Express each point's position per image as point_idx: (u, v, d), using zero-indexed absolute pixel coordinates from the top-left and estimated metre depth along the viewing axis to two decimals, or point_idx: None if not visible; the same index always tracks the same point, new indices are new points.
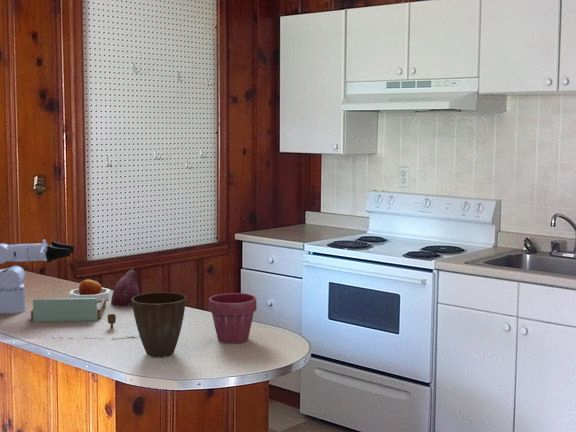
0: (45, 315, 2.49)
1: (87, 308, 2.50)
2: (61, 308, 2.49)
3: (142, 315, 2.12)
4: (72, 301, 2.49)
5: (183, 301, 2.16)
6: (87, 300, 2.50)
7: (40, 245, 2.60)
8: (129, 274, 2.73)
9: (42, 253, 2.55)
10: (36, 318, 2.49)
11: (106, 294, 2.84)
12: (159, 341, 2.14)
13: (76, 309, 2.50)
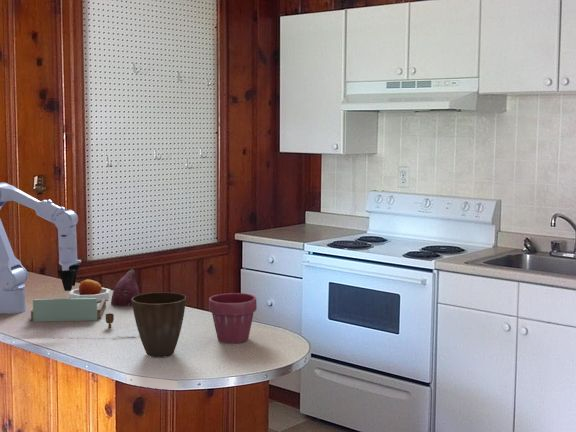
0: (45, 315, 2.49)
1: (87, 308, 2.50)
2: (61, 308, 2.49)
3: (142, 315, 2.12)
4: (72, 301, 2.49)
5: (183, 301, 2.16)
6: (87, 300, 2.50)
7: (75, 259, 2.57)
8: (129, 274, 2.73)
9: (66, 267, 2.51)
10: (36, 318, 2.49)
11: (106, 294, 2.84)
12: (159, 341, 2.14)
13: (76, 309, 2.50)
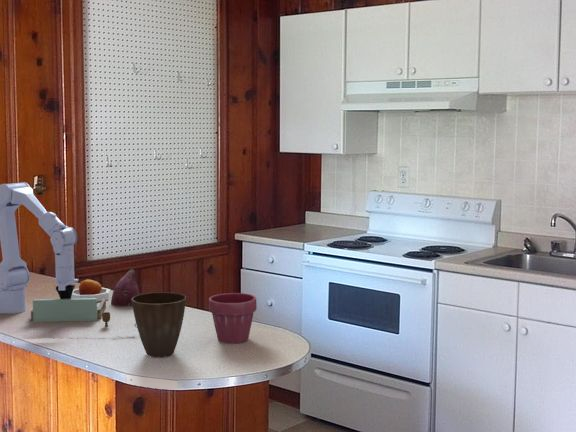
0: (45, 315, 2.49)
1: (87, 308, 2.50)
2: (61, 308, 2.49)
3: (142, 315, 2.12)
4: (72, 301, 2.49)
5: (183, 301, 2.16)
6: (87, 300, 2.50)
7: (72, 278, 2.49)
8: (129, 274, 2.73)
9: (63, 287, 2.43)
10: (36, 318, 2.49)
11: (106, 294, 2.84)
12: (159, 341, 2.14)
13: (76, 309, 2.50)
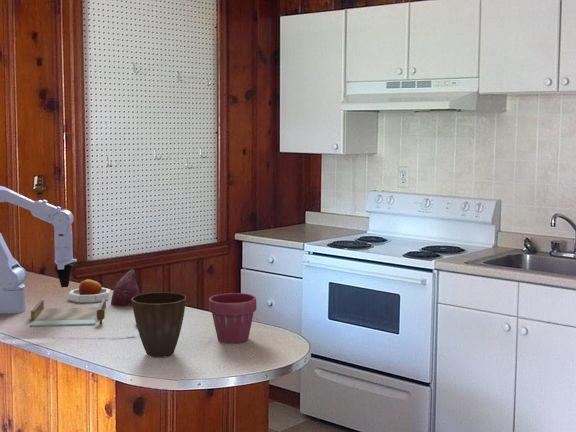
0: None
1: None
2: None
3: (142, 315, 2.12)
4: None
5: (183, 301, 2.16)
6: None
7: (70, 258, 2.60)
8: (129, 274, 2.73)
9: (62, 266, 2.54)
10: None
11: (106, 294, 2.84)
12: (159, 341, 2.14)
13: None
